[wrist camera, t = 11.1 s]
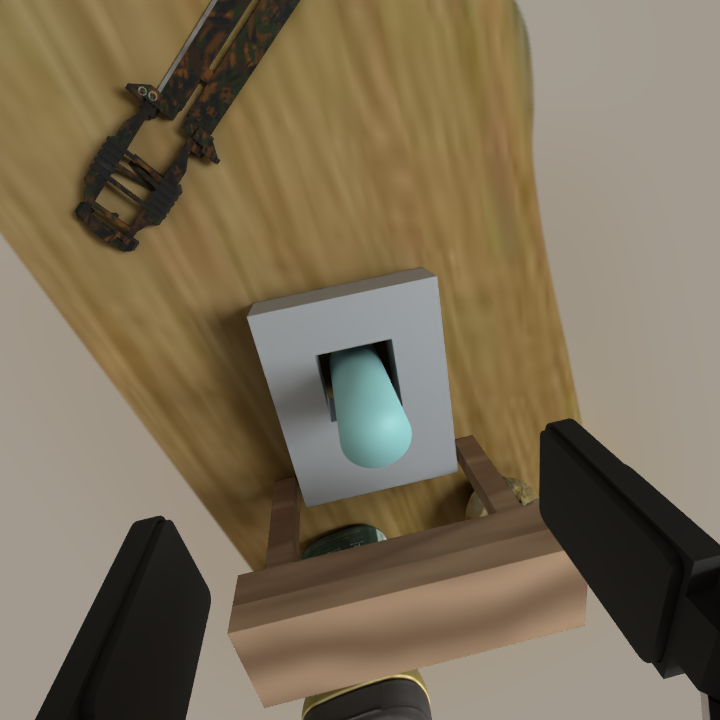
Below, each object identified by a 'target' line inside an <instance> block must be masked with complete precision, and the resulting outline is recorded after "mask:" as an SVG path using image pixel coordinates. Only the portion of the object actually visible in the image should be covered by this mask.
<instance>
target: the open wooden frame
mask: <svg viewBox="0 0 720 720" xmlns="http://www.w3.org/2000/svg"><path fill="white" fill-rule="evenodd" d="M455 447H456V456H457V460H458V462H459V464H460V466H461V467H462V469H463V471H464V473H465V474H466V476H467V478H468V480H469V481H470V483H471V485H472V487H473V488H474V490H475V492H476V494H477V495H478V497H479V499H480V501H481V502H482V504H483V506H484V508H485V509H486V511H487V513H488V515H486V516H482V517H478V518H474V519H470V520H466V521H461V522H457V523H453V524H449V525H445V526H441V527H437V528H432V529H428V530H424V531H420V532H416V533H412V534H408V535H403V536H399V537H395V538H391V539H387V540H383V541H379V542H374V543H370V544H366V545H362V546H358V547H354V548H350V549H345V550H341V551H337V552H333V553H329V554H325V555H321V556H317V557H312V558H308V559H304V560H300V561H299V522H300V490H299V487H298V484H297V481H296V478H295V477H292V478H288V479H283V480H279V481H275V487H274V495H273V504H272V513H271V522H270V531H269V540H268V549H267V558H266V566H265V569H263V570H259V571H254V572H250V573H246V574H243V575H238V579H237V585H236V590H235V595H234V601H233V607H232V612H231V617H230V623H229V629H228V636H229V638H230V640H231V642H232V644H233V646H234V648H235V650H236V652H237V654H238V656H239V658H240V660H241V662H242V664H243V666H244V668H245V670H246V672H247V674H248V676H249V678H250V680H251V682H252V684H253V686H254V688H255V690H256V692H257V694H258V696H259V698H260V700H261V702H262V704H263V706H264V708H266V707H270V706H273V705H278V704H282V703H285V702H289V701H293V700H297V699H301V698H305V697H309V696H313V695H317V694H321V693H324V692H328V691H332V690H336V689H340V688H344V687H348V686H352V685H356V684H360V683H363V682H367V681H371V680H375V679H379V678H383V677H387V676H391V675H395V674H399V673H402V672H406V671H410V670H414V669H418V668H422V667H426V666H430V665H434V664H437V663H441V662H445V661H449V660H453V659H457V658H461V657H464V656H469V655H473V654H476V653H480V652H484V651H488V650H492V649H496V648H500V647H504V646H508V645H512V644H516V643H519V642H523V641H527V640H531V639H535V638H539V637H543V636H547V635H550V634H554V633H558V632H562V631H566V630H570V629H574V628H578V627H581V626H585V614H586V598H587V582H586V581H585V579H584V578H583V577H582V575H581V574H580V572H579V571H578V570H577V568H576V567H575V565H574V564H573V562H572V561H571V560H570V558H569V557H568V555H567V554H566V553H565V551H564V550H563V548H562V547H561V545H560V544H559V543H558V541H557V540H556V538H555V537H554V536H553V534H552V533H551V531H550V530H549V529H548V527H547V526H546V524H545V523H544V521H543V519H542V517H541V514H540V510H539V503H536V504H532V505H528V506H524V507H522V506H521V504H520V503H519V501H518V500H517V498H516V497H515V495H514V494H513V493H512V491H511V490H510V488H509V487H508V485H507V484H506V483H505V481H504V480H503V478H502V477H501V475H500V474H499V472H498V471H497V470H496V468H495V467H494V465H493V464H492V462H491V461H490V460H489V458H488V457H487V455H486V454H485V452H484V451H483V450H482V448H481V447H480V445H479V444H478V442H477V441H476V439H475V438H474V437H473V436H468V437H464V438H460V439H455Z"/></svg>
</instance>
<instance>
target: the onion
mask: <svg viewBox="0 0 720 720" xmlns="http://www.w3.org/2000/svg"><path fill="white" fill-rule="evenodd" d="M503 480H504V481H505V483H506V484H507V485H508V487H509V488H510V490H511V491H512V493H513V494H514V495H515V497H516V498H517V500H518V501H519V503H520V504H521V506H522V507H524V506H528V505H532V504H536V503H539V495H538V493H537V492H536V491H535V490H534V489H532V488H531V487H530V486H528V485H527V484H525V483H523V482H521V481H519V480H516V479H513V478H503ZM486 515H488V513H487V511H486V509H485V508H484V506H483V504H482V502H481V501H480V499H479V497H478V495H477V494H476V492H475V491H474V492H473V493H472V495H471V497H470V499H469V502H468V505H467V509H466V520H470V519H474V518H478V517H482V516H486Z"/></svg>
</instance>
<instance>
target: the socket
mask: <svg viewBox="0 0 720 720" xmlns="http://www.w3.org/2000/svg"><path fill="white" fill-rule="evenodd" d="M247 319H248V322H249V326H250V329H251V332H252V335H253V338H254V342H255V345H256V348H257V351H258V354H259V358H260V361H261V364H262V367H263V370H264V374H265V377H266V380H267V383H268V386H269V390H270V393H271V396H272V399H273V402H274V406H275V409H276V412H277V415H278V418H279V422H280V425H281V428H282V431H283V434H284V438H285V441H286V444H287V447H288V450H289V454H290V457H291V460H292V463H293V466H294V470H295V473H296V476H297V479H298V482H299V486H300V489H301V492H302V495H303V498H304V502H305V505H306V508H307V507H311V506H316V505H320V504H324V503H328V502H332V501H337V500H341V499H345V498H349V497H354V496H358V495H362V494H366V493H371V492H375V491H379V490H383V489H388V488H392V487H396V486H400V485H404V484H409V483H413V482H417V481H421V480H426V479H430V478H434V477H438V476H443V475H447V474H451V473H455V472H458V466H457V456H456V447H455V438H454V429H453V419H452V410H451V401H450V392H449V382H448V373H447V364H446V355H445V345H444V336H443V327H442V317H441V308H440V299H439V290H438V280H437V276H436V275H434V274H433V273H431V272H429V271H428V270H426V269H424V268H423V267H421V268H416V269H412V270H407V271H402V272H398V273H393V274H388V275H384V276H379V277H374V278H369V279H365V280H360V281H355V282H351V283H346V284H341V285H337V286H332V287H327V288H322V289H318V290H313V291H308V292H304V293H299V294H294V295H290V296H285V297H280V298H275V299H271V300H266V301H261V302H257V303H254V304H253V306H252V307H251V309H250V311H249V313H248V315H247ZM384 340H386V346H387V352H388V358H389V363H390V369H391V375H392V381H393V385H392V386H393V388H394V390H395V392H396V395H397V397H398V399H399V401H400V403H401V406H402V408H403V410H404V412H405V415H406V417H407V419H408V421H409V423H410V426H411V430H412V439H411V443H410V446H409V448H408V449H407V451H406V452H405V454H404V455H403V456H402V457H401V458H400V459H398V460H397V461H396V462H394V463H392V464H390V465H388V466H385V467H381V468H364V467H360V466H358V465H356V464H354V463H352V462H351V461H349V460H348V459H347V458H346V456H345V455H344V453H343V452H342V449H341V446H340V439H339V432H338V424H337V417H336V409H335V402H334V398H333V399H329V398H328V394H327V390H326V386H325V381H324V377H323V373H322V369H321V365H320V361H319V357H318V355H320V354H324V353H329V352H333V351H338V350H343V349H347V348H352V347H356V346H361V345H365V344H370V343H374V342H379V341H384Z"/></svg>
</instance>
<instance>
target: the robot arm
mask: <svg viewBox="0 0 720 720" xmlns="http://www.w3.org/2000/svg"><path fill="white" fill-rule="evenodd" d="M539 510H540V514H541V517H542V519H543V521H544V523H545V524H546V526H547V527H548V529H549V530H550V531H551V533H552V534H553V536H554V537H555V538H556V540H557V541H558V543H559V544H560V545H561V547H562V548H563V550H564V551H565V553H566V554H567V555H568V557H569V558H570V560H571V561H572V562H573V564H574V565H575V567H576V568H577V570H578V571H579V572H580V574H581V575H582V577H583V578H584V579H585V581H586V582H587V584H588V585H589V587H590V588H591V589H592V591H593V592H594V593H595V595H596V596H597V598H598V599H599V601H600V602H601V603H602V605H603V606H604V608H605V609H606V610H607V612H608V613H609V615H610V616H611V618H612V619H613V620H614V622H615V623H616V625H617V626H618V627H619V629H620V630H621V632H622V633H623V635H624V636H625V637H626V639H627V640H628V642H629V643H630V645H631V646H632V647H633V649H634V650H635V652H636V653H637V654H638V656H639V657H640V658H641V659H642V660H643V661H644V662H646V663H652V664H653V665H654V666H655V668H656V669H657V671H658V672H659V673H660V675H661V676H662V677H663V679H665V678H669V677H673V676H676V675H680V674H684V673H685V674H686V675H687V676H688V678H689V679H690V680H691V681H692V683H693V684H694V685H695V687H696V688H697V689H698V690H699V691H700V692H701V703H702V704H701V705H702V717H703V720H720V545H719V544H718V543H717V542H716V541H715V540H714V539H713V538H711V537H710V536H709V535H708V534H706V532H704V531H703V530H702V529H701V528H700V527H698V526H697V525H696V524H695V523H694V522H693V521H692V520H691V519H690V518H688V517H687V516H686V515H685V514H684V513H683V512H681V511H680V510H679V509H678V508H677V507H676V506H675V505H674V504H672V503H671V502H670V501H669V500H668V499H667V498H666V497H664V496H663V495H662V494H661V493H660V492H658V491H657V490H656V489H655V488H654V487H653V486H652V485H651V484H649V483H648V482H647V481H646V480H645V479H644V478H643V477H641V476H640V475H639V474H638V473H637V472H636V471H634V470H633V469H632V468H631V467H629V466H628V465H626V464H624V463H622V462H621V461H620V460H619V459H618V458H617V457H616V456H615V455H614V454H612V453H611V452H610V451H609V450H608V449H607V448H606V447H604V446H603V445H602V444H601V443H600V442H599V441H598V440H596V439H595V438H594V437H593V436H592V435H591V434H590V433H588V432H587V431H586V430H585V429H584V428H583V427H582V426H581V425H579V424H578V423H577V422H576V421H575V420H573V419H570V418H569V419H565V420H561V421H557V422H552V423H549V424H547V425H546V428H545V430H544V431H541V433H540V483H539ZM210 604H211V595H210V591H209V588H208V586H207V585H206V583H205V581H204V579H203V577H202V575H201V573H200V572H199V570H198V568H197V566H196V564H195V562H194V560H193V559H192V557H191V555H190V553H189V551H188V549H187V547H186V546H185V544H184V542H183V540H182V538H181V536H180V534H179V533H178V531H177V529H176V527H175V525H174V523H173V522H172V521H171V520H165V518H164V517H162V516H156V517H152V518H148V519H144V520H140V521H136V522H135V523H133V525H132V526H131V528H130V530H129V532H128V534H127V536H126V538H125V540H124V542H123V544H122V546H121V548H120V550H119V552H118V554H117V556H116V558H115V560H114V562H113V564H112V566H111V568H110V570H109V572H108V574H107V576H106V578H105V580H104V582H103V584H102V586H101V588H100V590H99V592H98V594H97V596H96V598H95V600H94V602H93V604H92V606H91V608H90V610H89V612H88V614H87V616H86V618H85V620H84V622H83V624H82V626H81V628H80V630H79V632H78V634H77V636H76V639H75V640H74V643H73V645H72V646H71V649H70V650H69V653H68V655H67V657H66V659H65V661H64V663H63V665H62V667H61V669H60V671H59V673H58V675H57V677H56V679H55V681H54V683H53V685H52V687H51V689H50V691H49V693H48V695H47V697H46V699H45V701H44V703H43V705H42V707H41V709H40V711H39V713H38V715H37V717H36V719H35V720H186V715H187V710H188V706H189V701H190V697H191V692H192V687H193V683H194V678H195V674H196V669H197V664H198V660H199V656H200V651H201V646H202V641H203V637H204V633H205V628H206V623H207V619H208V614H209V610H210Z"/></svg>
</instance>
